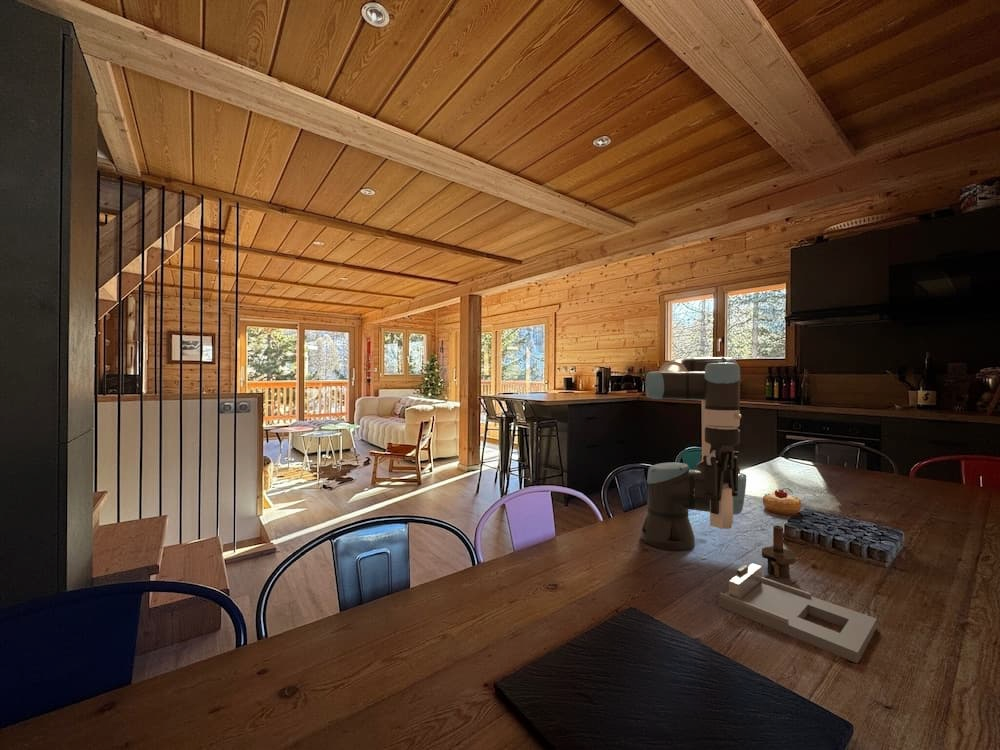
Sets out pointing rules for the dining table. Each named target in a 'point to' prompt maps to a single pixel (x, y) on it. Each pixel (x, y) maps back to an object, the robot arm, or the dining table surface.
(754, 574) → the lock bar
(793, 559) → the industrial component
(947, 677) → the dining table surface
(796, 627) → the housing plate
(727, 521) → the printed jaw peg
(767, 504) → the pastry
